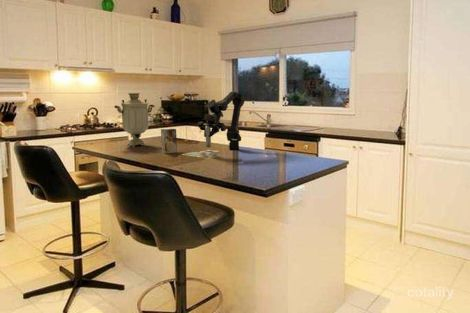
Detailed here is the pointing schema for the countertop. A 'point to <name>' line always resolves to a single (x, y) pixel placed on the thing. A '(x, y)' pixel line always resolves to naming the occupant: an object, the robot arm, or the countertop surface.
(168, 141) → the coffee box
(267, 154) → the countertop surface
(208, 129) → the key rod
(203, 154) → the board
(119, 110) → the samovar
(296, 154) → the countertop surface
